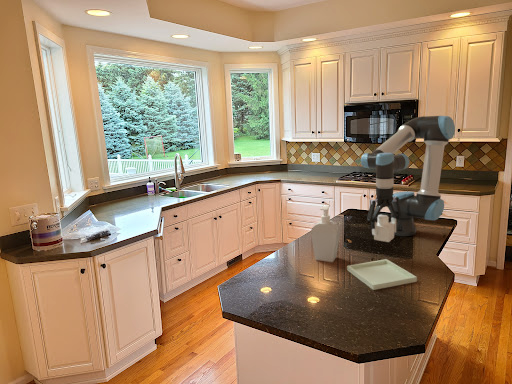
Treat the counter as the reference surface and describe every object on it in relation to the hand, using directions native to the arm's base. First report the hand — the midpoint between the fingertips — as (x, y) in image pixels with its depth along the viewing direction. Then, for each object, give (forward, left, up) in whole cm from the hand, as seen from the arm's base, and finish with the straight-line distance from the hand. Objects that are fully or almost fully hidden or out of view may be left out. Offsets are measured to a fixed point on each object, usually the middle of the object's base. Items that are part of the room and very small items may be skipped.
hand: (384, 233), depth 170 cm
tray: (+14, +17, -12) cm, 25 cm away
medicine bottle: (0, 0, -3) cm, 3 cm away
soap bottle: (+26, -9, -12) cm, 29 cm away
